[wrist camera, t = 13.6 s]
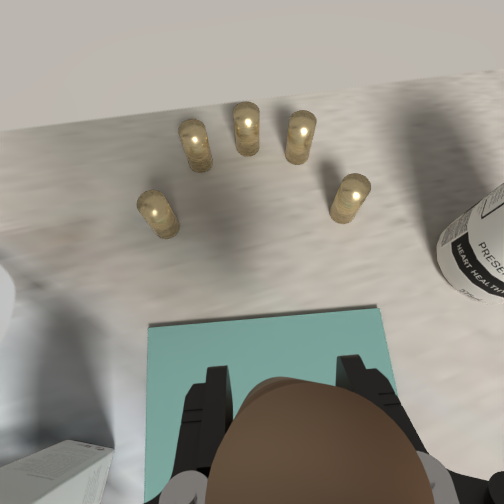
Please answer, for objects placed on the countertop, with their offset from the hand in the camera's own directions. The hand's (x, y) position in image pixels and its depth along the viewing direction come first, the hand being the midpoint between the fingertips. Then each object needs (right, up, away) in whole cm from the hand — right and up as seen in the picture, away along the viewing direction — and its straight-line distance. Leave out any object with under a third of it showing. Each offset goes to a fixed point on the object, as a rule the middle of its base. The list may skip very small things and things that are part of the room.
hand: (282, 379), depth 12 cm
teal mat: (+1, -7, +15) cm, 17 cm away
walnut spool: (0, -3, +3) cm, 5 cm away
